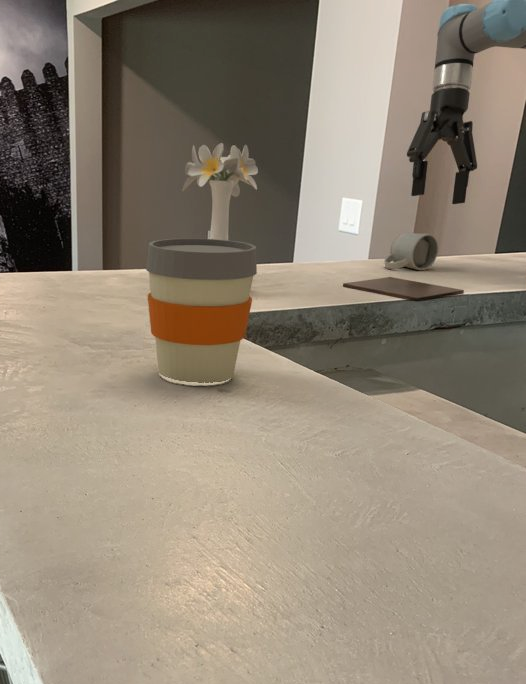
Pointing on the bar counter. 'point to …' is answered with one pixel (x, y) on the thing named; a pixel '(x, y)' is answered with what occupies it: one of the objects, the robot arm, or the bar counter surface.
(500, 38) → the robot arm
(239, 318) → the reusable coffee cup
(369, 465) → the bar counter surface
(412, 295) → the placemat
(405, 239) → the ceramic mug
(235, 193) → the flower vase
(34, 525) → the bar counter surface
